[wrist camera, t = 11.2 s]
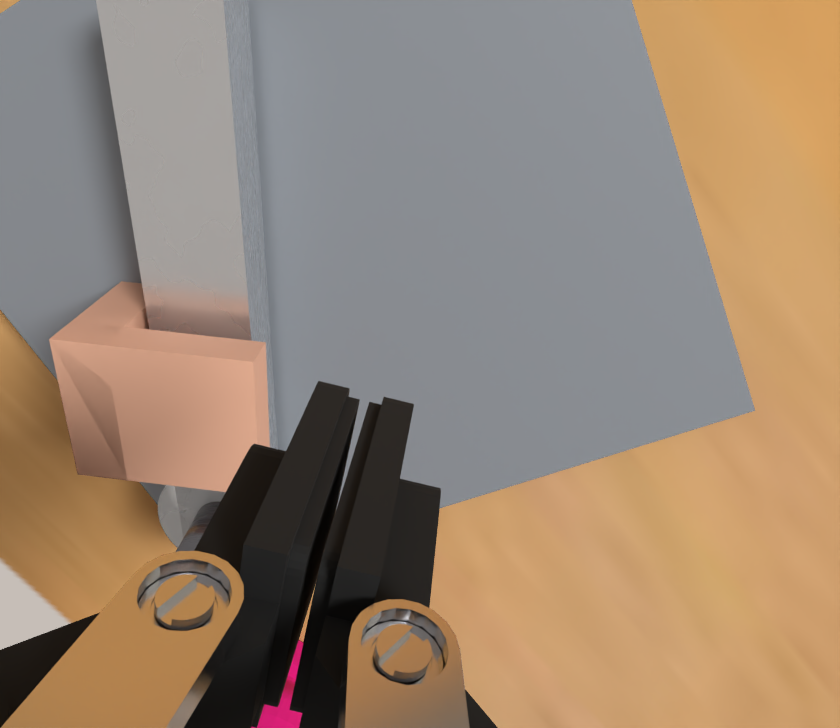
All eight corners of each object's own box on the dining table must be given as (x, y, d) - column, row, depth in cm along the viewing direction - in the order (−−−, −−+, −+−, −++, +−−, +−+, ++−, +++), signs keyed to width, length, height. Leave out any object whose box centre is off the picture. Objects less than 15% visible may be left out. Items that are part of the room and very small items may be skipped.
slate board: (743, 392, 30) (755, 410, 29) (225, 557, 38) (216, 577, 37) (526, -318, 20) (529, -339, 19) (-125, 110, 28) (-155, 116, 26)
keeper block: (302, 402, 33) (259, 496, 27) (153, 385, 33) (77, 474, 27) (301, 285, 30) (253, 361, 24) (137, 268, 30) (48, 339, 24)
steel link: (303, 541, 34) (276, 621, 30) (186, 528, 35) (142, 607, 30) (277, -2, 23) (226, 0, 18) (101, -12, 23) (10, -12, 19)
